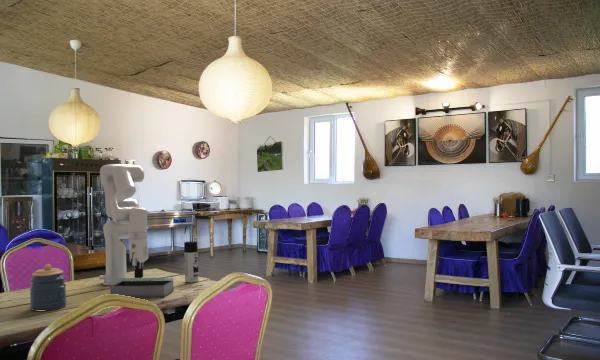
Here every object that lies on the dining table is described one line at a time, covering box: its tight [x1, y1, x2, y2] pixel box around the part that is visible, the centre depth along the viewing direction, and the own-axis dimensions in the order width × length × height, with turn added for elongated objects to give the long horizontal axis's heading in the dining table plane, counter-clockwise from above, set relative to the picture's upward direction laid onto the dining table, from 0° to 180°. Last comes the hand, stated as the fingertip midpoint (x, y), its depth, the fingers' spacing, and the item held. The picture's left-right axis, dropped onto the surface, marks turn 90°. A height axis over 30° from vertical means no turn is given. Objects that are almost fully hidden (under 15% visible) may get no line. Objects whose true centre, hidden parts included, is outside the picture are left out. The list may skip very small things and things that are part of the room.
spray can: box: [183, 240, 200, 284], centre depth 236 cm, size 7×7×20 cm
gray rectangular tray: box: [109, 279, 174, 299], centre depth 209 cm, size 24×12×5 cm, turn 87°
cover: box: [110, 277, 174, 281], centre depth 209 cm, size 24×12×1 cm, turn 87°
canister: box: [29, 263, 67, 311], centre depth 189 cm, size 13×13×18 cm
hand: (138, 277), depth 205 cm, fingers closed
